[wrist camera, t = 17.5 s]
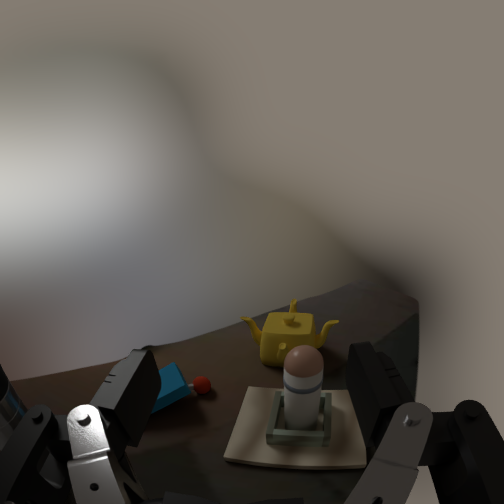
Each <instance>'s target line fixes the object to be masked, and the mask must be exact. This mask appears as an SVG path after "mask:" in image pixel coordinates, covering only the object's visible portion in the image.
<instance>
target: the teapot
mask: <svg viewBox="0 0 504 504" xmlns="http://www.w3.org/2000/svg"><path fill="white" fill-rule="evenodd" d="M296 304H297V301H296V299H293V300H292V301H291V305H290V310H289V313H287V312H275V313H270V314H269V315H268V317H267V320H266V322H265V325H264V327H263V330H262V332H261V331H260V330H259V329H258V328H257V326H256V323H255V322H254V321H253V320H252V319H251V318H249V317H240V318H241V319H242V320H244V321H245V322H246V323H247V324H248V325H249V327H250V330H251V333H252V337H253V339H254V341H255V342H256V343H257V344H258V345H259V346H260V359H261V361H262V364H264V365H267V366H274V367H282V368H284V360H285V358H286V356H287V354H288V353H289V352H290V351H291V350H292V349H293V348H295V347H297V346H301V345H308V346H312V347H314V348H316V349H318V348H320V347H321V346H322V345H323V344H324V342H325V341H326V338H327V335H328V332H329V329H330V328H331V327H332V326H333V325H334V324H336V323H338V322H339V320H331V321H328V322H327V323H326V324H325V325H324V326H323V329H322V331H321V333H320V334H318V335H316V331H315V323H314V317H313V315H312V314H307V313H297V307H296Z"/></svg>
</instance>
